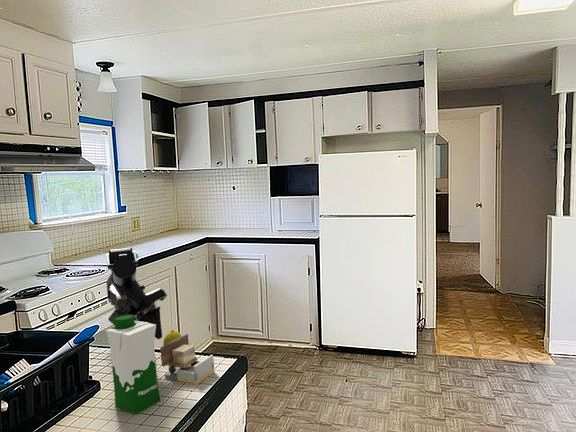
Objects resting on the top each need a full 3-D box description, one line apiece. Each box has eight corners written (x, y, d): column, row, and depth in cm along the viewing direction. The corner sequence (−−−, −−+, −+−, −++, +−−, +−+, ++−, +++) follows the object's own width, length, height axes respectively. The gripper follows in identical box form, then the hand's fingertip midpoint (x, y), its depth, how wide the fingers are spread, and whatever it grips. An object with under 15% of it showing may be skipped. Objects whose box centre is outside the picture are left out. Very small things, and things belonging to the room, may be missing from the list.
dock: (165, 378, 115) (163, 361, 114) (184, 366, 121) (182, 350, 121) (196, 384, 110) (195, 366, 110) (214, 371, 117) (213, 355, 116)
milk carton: (140, 391, 108) (133, 310, 106) (167, 399, 103) (160, 314, 101) (109, 408, 100) (100, 321, 99) (136, 418, 96) (127, 326, 94)
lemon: (181, 360, 125) (179, 333, 125) (162, 361, 125) (159, 334, 125) (186, 353, 131) (184, 326, 130) (167, 354, 131) (165, 327, 130)
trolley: (162, 376, 113) (159, 347, 112) (187, 361, 122) (185, 333, 121) (178, 379, 111) (176, 349, 110) (203, 363, 120) (201, 335, 119)
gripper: (92, 317, 121) (122, 366, 118) (113, 284, 110) (147, 337, 107) (128, 301, 130) (156, 346, 127) (151, 269, 119) (183, 317, 115)
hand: (160, 338), depth 119 cm, fingers closed
